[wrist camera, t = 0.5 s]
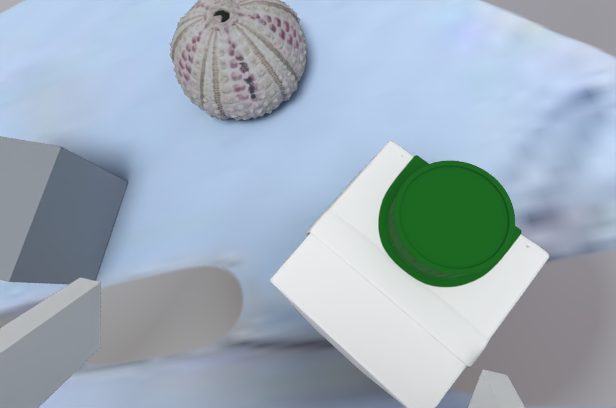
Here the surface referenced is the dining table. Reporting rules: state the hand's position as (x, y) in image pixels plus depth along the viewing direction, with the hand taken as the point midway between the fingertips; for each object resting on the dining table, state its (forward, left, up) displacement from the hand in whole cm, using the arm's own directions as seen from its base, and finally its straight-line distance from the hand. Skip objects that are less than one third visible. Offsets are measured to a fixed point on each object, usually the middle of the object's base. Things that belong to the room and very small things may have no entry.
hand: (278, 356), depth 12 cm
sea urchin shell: (+23, +12, -20) cm, 33 cm away
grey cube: (+4, +26, -19) cm, 33 cm away
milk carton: (+4, -4, -19) cm, 20 cm away
